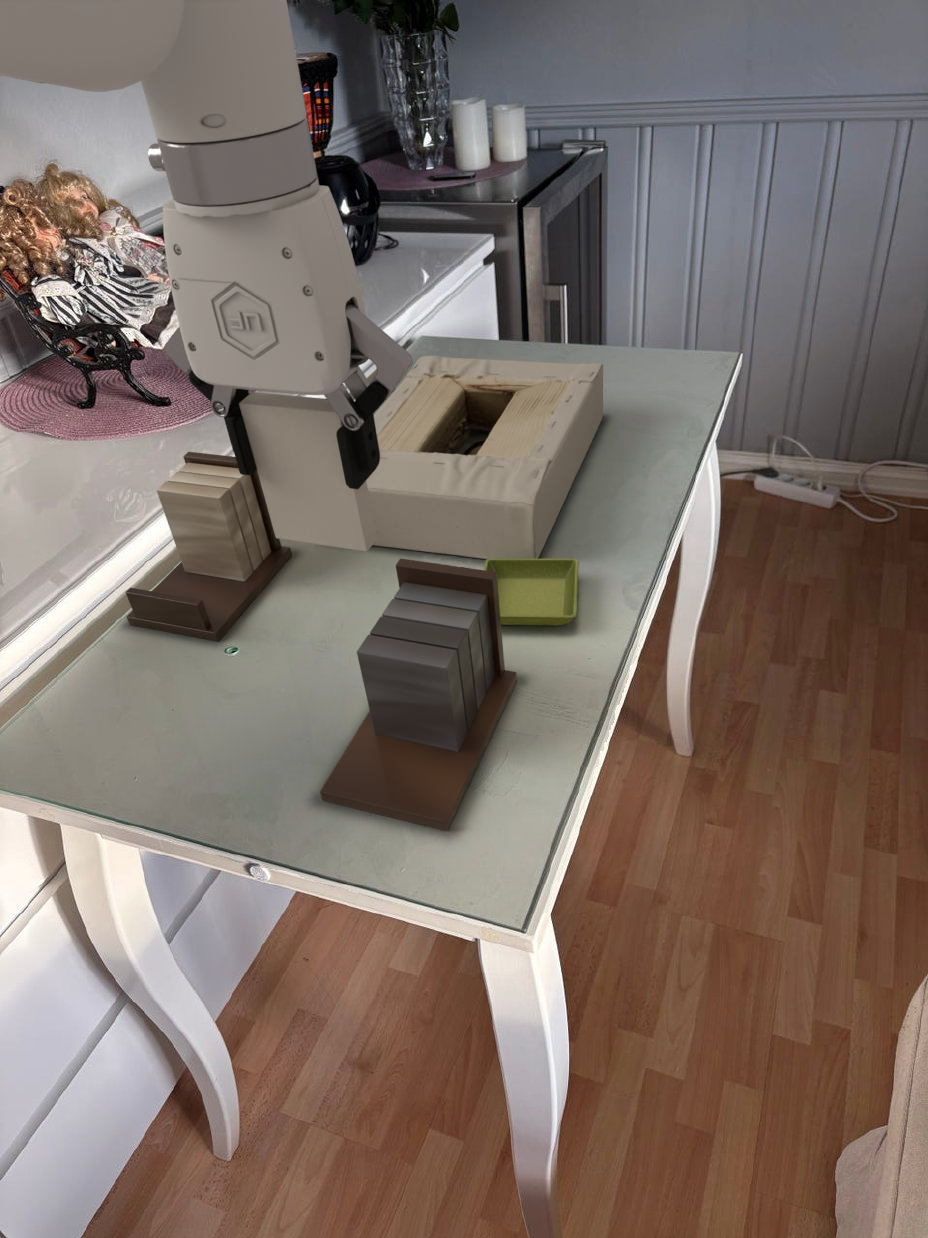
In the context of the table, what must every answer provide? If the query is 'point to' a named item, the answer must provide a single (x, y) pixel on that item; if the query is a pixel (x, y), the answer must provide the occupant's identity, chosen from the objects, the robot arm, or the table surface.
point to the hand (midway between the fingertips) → (308, 469)
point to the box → (481, 454)
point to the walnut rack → (426, 696)
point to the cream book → (306, 472)
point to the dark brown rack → (211, 550)
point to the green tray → (536, 590)
